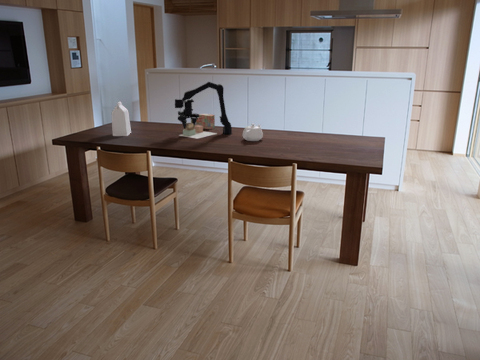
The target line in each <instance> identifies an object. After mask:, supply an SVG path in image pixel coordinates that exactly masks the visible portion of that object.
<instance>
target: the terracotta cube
mask: <svg viewBox="0 0 480 360" xmlns="http://www.w3.org/2000/svg"><path fill="white" fill-rule="evenodd" d="M194 129H195V131H196V133H201V132H203V131H204V128H203V126H200V125H197V126H194Z"/></svg>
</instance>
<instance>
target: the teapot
mask: <svg viewBox="0 0 480 360" xmlns="http://www.w3.org/2000/svg"><path fill="white" fill-rule="evenodd" d="M242 137H243V139H244V140H246V141H248V142H259V141H260V140H261V139H262V138H263V137H264V133H263V130H262V127H261V124H258V125H256V124H255V123H251V125H246V126H245V128H244V129H243V131H242Z"/></svg>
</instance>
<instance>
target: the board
mask: <svg viewBox="0 0 480 360" xmlns="http://www.w3.org/2000/svg"><path fill="white" fill-rule="evenodd" d="M217 134H218V133H217V132H211V131H204V130H203V132H201V133H196V135H192V136H187V135H183V133H182V134H178V136H180V137H185V138H189V139H197V140H198V139H203V138H205V137H209V136H214V135H217Z"/></svg>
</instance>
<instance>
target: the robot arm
mask: <svg viewBox="0 0 480 360" xmlns="http://www.w3.org/2000/svg"><path fill="white" fill-rule="evenodd" d="M209 88H211V89H213V90H215V91H216V93H217V96H218V101H219V107H220V116H219V119H220V120H219V122H220V123H221V125H223V127H222V135H226V136H230V135H233V127H232V124H231V122H230V121H229V118H228V116H227V111H226V106H225V100H224V86H223V85H222V84H220V83H218V84H217V83H213V82H211V81H207V82H206V83H204V84H202V85H200V86H198V87H196V88H193V89H189V90H187V91H185V92H184V94H183V97H182V98H181V99H179V98H176V99H174V108H175V109H183V108H184V109H183V111H181V110H179V111H177V115H178V116H177V120H178V121H179V122H181V123H182V126H183V130H185V129H186V123H188V120H187V119H190V120H191V119H192V123H193V125H195V123H196V121H197V119H198V118H199V113H193V111H194V109H193V103H195V100H194V99H193V97H194V96H196V95H197V94H199V93H201V92H203V91H205V90H207V89H209Z"/></svg>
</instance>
